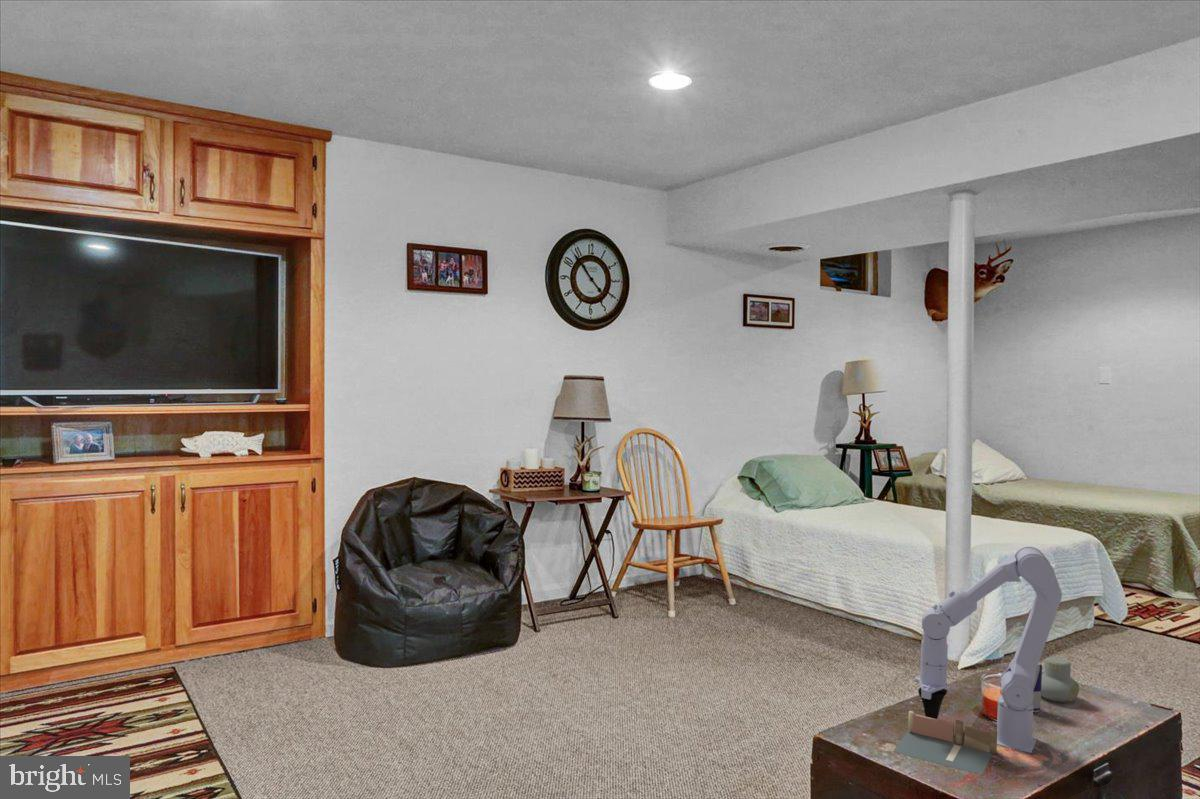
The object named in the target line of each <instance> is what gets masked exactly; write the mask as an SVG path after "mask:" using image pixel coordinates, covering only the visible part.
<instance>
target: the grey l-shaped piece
mask: <svg viewBox="0 0 1200 799" xmlns="http://www.w3.org/2000/svg"><path fill="white" fill-rule="evenodd" d="M1071 664H1072V663H1071V661H1069V659H1066V658H1062V657H1057V656H1048V657H1046V658H1045V659H1044V671H1043V672H1042V684H1041V697H1043V698H1044V697H1045V699H1046V698H1047V699H1046V700H1049V699H1050V700H1049V701H1052V700H1054V701H1053V702H1056V701H1060V702H1059V703H1063V702H1067V703H1070V702H1073V701H1075V700H1076V699H1077V698H1078V695H1079V692H1080V684H1079V683H1078V682H1077V681H1076V680H1075V679H1074V678H1072V677H1071V669H1072V668H1071V667H1072V665H1071ZM1069 701H1070V702H1069Z"/></svg>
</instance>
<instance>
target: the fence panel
mask: <svg viewBox="0 0 1200 799" xmlns="http://www.w3.org/2000/svg"><path fill="white" fill-rule="evenodd" d="M907 721H908V723H907V724H908V725H907V732H908V731H909V732H914V733H918V734H922V735H926V736H930V737H934V738H938V739H942V740H946V741H951V742H953V739H955V734H954V733H955V723H954V722H950V721H947V720H942V719H938V718H937V719H934V718H930V717H926V716H925V715H920V714H917V713H915V712H914V711H912V710H909V711H908V720H907Z"/></svg>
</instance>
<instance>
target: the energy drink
mask: <svg viewBox="0 0 1200 799" xmlns="http://www.w3.org/2000/svg"><path fill="white" fill-rule="evenodd" d="M1042 673H1043V665H1042V662H1041V661H1039V663H1038V666H1037V668H1036V674H1035V682H1034V685H1033V695H1034V699H1033V702H1032V703H1033V705H1034V707H1033V712H1037V711H1039V712H1041V706H1042V704H1041V703H1042V696H1041V684H1042Z"/></svg>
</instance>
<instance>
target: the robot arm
mask: <svg viewBox="0 0 1200 799" xmlns="http://www.w3.org/2000/svg"><path fill="white" fill-rule="evenodd" d="M1020 577H1022V578H1023V579H1024V580H1025V581H1026V582H1027V583H1028V584H1029V585H1030V586H1031V587H1032V589H1033V591H1034V592H1035V598H1034V599H1033V603H1032V606H1031V609H1030V612H1029V613H1028V617H1027V620H1026V622H1025V625H1024V628H1023V631H1022V634H1021V636H1020V640H1019V643H1018V646H1017V648H1016V651H1015V654H1014V657H1013V658H1012V660H1011V661H1010V662H1009V665H1008V666H1007V669H1006V670H1005V671H1003V672H1002V673H1001V675H1000V676H999V685H1000V689H1001V695H1000V696H999V697H998V698H997V715H996V716H997V720H996V731H997V746H1000V747H1004V748H1008V749H1013V750H1017V751H1020V752H1024V753H1029V754H1031V753H1033V750H1034V747H1035V745H1036V742H1037V739H1038V738H1037V736H1036V737H1035V736H1033V727H1034V713H1033V707H1034V705H1033V703H1032V702H1033V699H1034V695H1033V685H1034V682H1035V674H1036V668H1037V666H1038V663H1039V662H1040V660H1041V657H1042V654H1043V651H1044V648H1045V645H1046V643H1047V640H1048V638H1049V634H1050V632H1051V629H1052V627H1053V623H1054V621H1055V619H1056V618H1055V617H1056V616H1057V612H1058V610H1059V607H1060V604H1061V602H1062V598H1063V593H1062V589H1061V587H1060V584H1059V581H1058V578H1057V574H1056V572H1055V569H1054V568H1053V566H1052V564H1051V563H1050V560H1048V559H1047V556H1045V554H1044V553H1043V552H1042V551H1041V550H1040V549H1038V548H1036V547H1034V546H1023V547H1021V548H1020V549H1018V550H1017V551H1016V553H1012V554H1010V555H1009V556H1007V557H1005V559H1003V560H1002V561H1000V562H998V563H997V565H996V566H994V567H993V568H992V569H991V570H989V572H987V573H986V574H985V575H983V576H982V577H980V579H979V580H977V581H976V582H975V583H973V585H972V586H970V587H969V588H968V589H963V588H959V589H956V590H953V589H952V590H950V591H949V592H948V597H946V598H945V599H944V600H942V601H941V602H939V603H938V604H937V603H935V604H934V605H932V609H928V610H926V611H925V612H924V614H923V615H922V618H921V627H922V634H921V638H922V640H921V645H920V671H919V676H915V677H914V682H916V683H918V684H919V686H920V687H919V688H918V691H917V692H918V695H919V697H920V699H921V702H922V706H923V710H924V716H926V717H930V718H934V719H938V717H939V714H940V711H941V707H942V706H941V705H942V702H943V700H944V698H945V697H946V695H947V693H948V690H947V689H946V688H947V687H948V682H947V679H948V678H947V677H948V676H947V674H948V672H947V671H948V649H949V645H948V642H947V639H948V638H947V637H948V635H949V632H950V629H951V627H955V626H957V625H958V624H959V623H961V622H962V621H963V620H965V619H966V618H967V617H969V616H970V615H971V614H973V613H974V612H976V611H977V609H978V602H979V601H980V600H982V599H983V598H985V597H986V596H987V595H989V594H991V593H992V592H993V591H995V590H996V589H998V588H999V587H1001V586H1003V584H1005V583H1009V582H1010V583H1011V582H1012V583H1015V582H1016V583H1017V582H1018V583H1020V582H1022V581H1021V578H1020Z"/></svg>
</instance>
